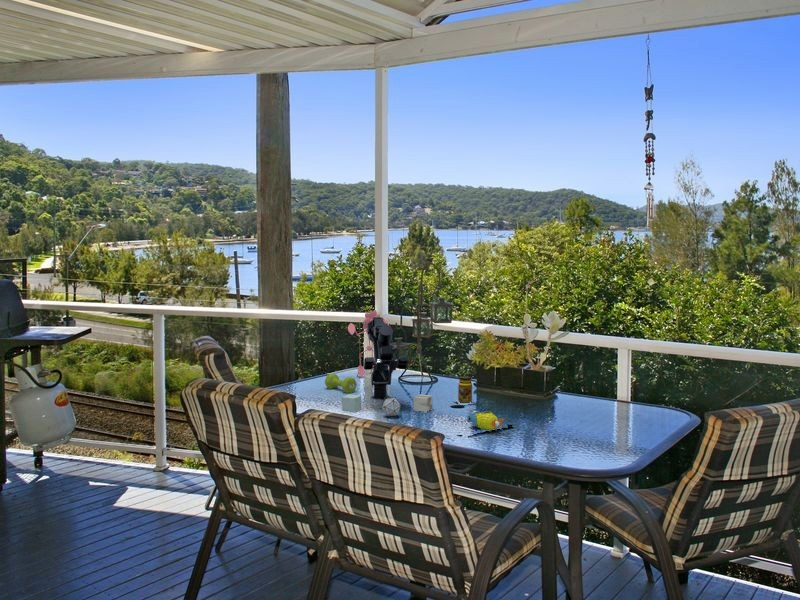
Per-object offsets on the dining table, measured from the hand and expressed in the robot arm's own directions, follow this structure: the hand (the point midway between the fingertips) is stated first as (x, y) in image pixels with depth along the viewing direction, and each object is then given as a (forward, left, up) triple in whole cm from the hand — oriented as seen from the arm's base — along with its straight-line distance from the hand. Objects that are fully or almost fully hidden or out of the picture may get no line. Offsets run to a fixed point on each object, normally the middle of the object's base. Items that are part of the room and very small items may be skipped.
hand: (387, 379), depth 317 cm
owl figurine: (+9, +47, -14) cm, 50 cm away
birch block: (-9, +12, -14) cm, 20 cm away
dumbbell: (-26, -39, -14) cm, 49 cm away
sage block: (+5, -15, -14) cm, 21 cm away
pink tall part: (-61, -41, -14) cm, 74 cm away
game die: (+7, +5, -14) cm, 16 cm away
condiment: (-29, +23, -14) cm, 40 cm away
